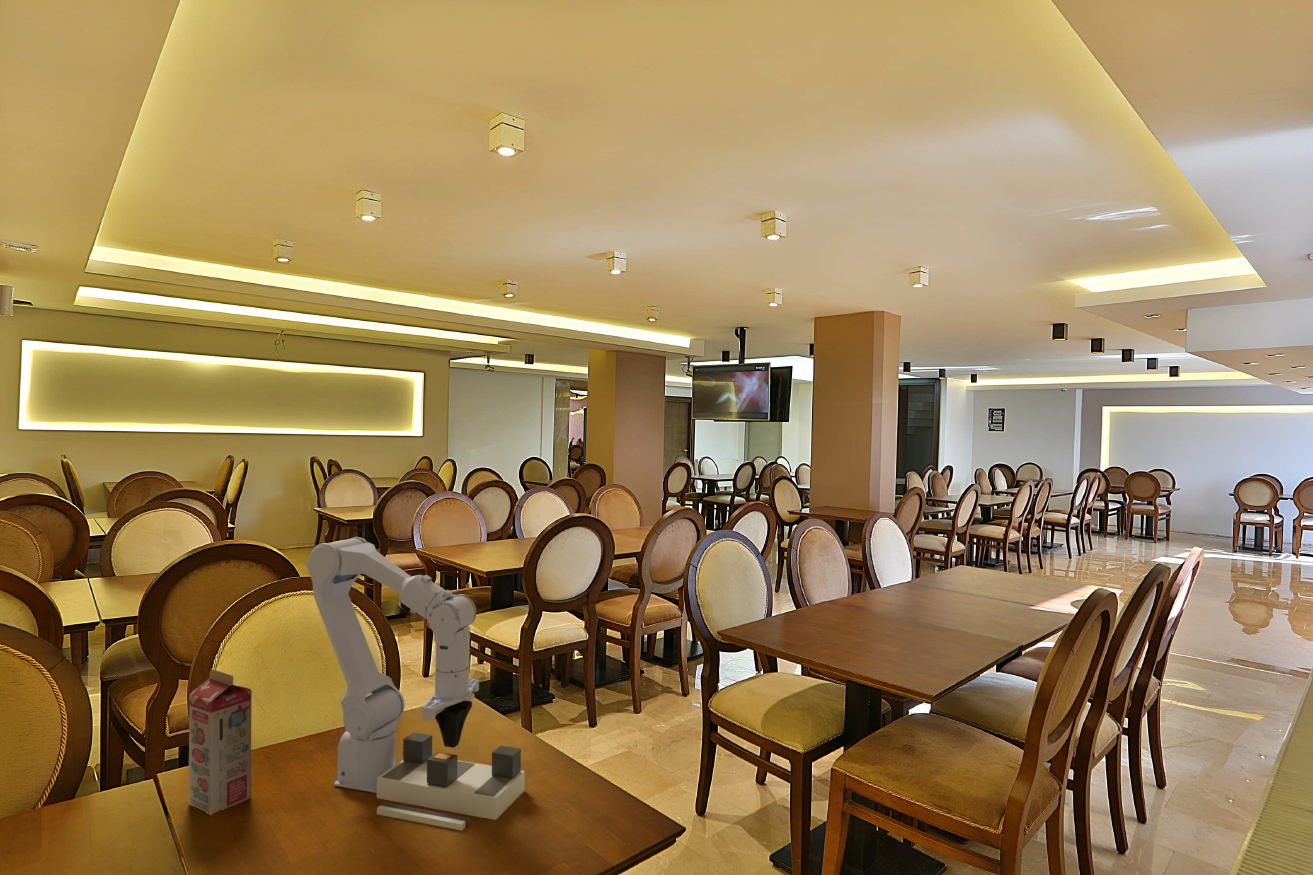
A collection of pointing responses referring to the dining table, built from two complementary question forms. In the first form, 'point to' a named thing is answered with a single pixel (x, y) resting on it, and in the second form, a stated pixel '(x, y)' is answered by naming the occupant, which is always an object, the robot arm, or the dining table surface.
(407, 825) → the dining table surface
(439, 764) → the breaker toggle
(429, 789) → the white panel with blocks
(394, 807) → the long grey stick
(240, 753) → the juice carton
